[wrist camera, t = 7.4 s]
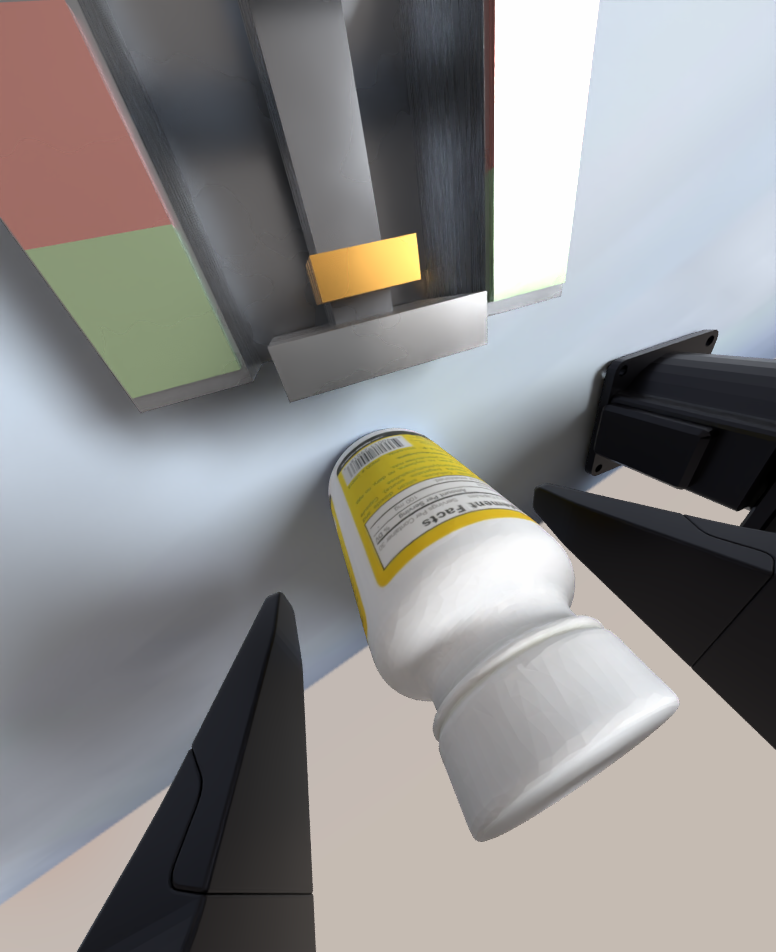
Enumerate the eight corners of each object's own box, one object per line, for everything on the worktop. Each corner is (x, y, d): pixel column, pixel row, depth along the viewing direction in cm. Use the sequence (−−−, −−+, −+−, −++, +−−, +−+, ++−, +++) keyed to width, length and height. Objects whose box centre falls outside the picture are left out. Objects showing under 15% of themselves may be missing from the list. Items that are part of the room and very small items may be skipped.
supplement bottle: (413, 534, 15) (573, 800, 7) (311, 522, 12) (367, 915, 4) (460, 442, 13) (766, 657, 5) (351, 406, 10) (593, 718, 2)
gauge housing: (471, -39, 6) (697, -468, 3) (478, 302, 10) (582, 294, 7) (-41, -19, 5) (-918, -932, 1) (191, 379, 8) (126, 421, 5)
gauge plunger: (358, -191, 5) (479, -1015, 2) (422, 336, 9) (487, 344, 6) (60, -209, 4) (-536, -1621, 1) (287, 373, 8) (290, 402, 5)
